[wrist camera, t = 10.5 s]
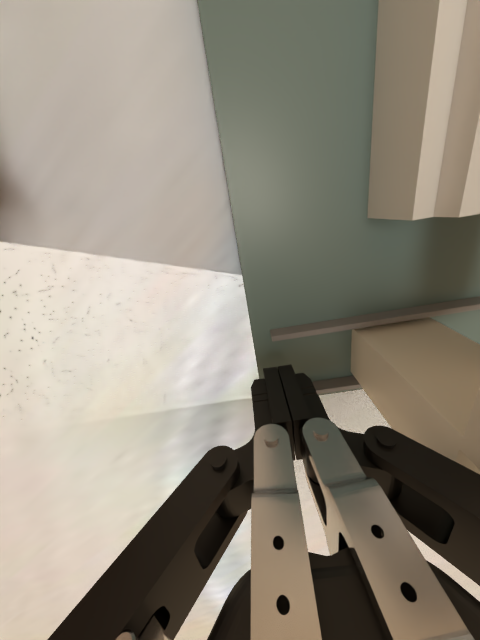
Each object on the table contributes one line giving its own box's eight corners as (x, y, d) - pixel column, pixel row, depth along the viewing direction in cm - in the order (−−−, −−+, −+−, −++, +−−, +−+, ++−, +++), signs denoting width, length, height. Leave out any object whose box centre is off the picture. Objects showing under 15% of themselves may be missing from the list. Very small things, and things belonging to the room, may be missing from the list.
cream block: (353, 292, 12) (526, 411, 5) (432, 279, 12) (732, 383, 5) (350, 371, 14) (470, 536, 7) (418, 361, 14) (614, 520, 7)
